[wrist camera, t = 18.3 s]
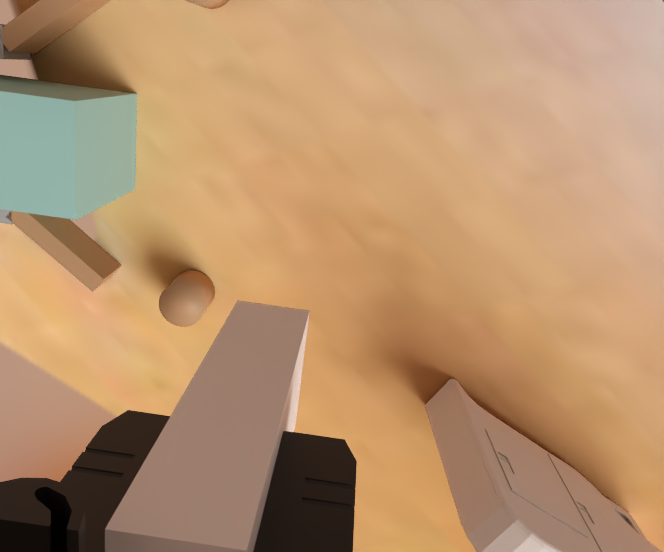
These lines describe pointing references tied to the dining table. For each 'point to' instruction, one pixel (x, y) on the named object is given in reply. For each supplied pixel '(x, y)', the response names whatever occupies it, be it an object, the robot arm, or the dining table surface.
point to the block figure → (62, 234)
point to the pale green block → (64, 147)
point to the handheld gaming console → (521, 487)
